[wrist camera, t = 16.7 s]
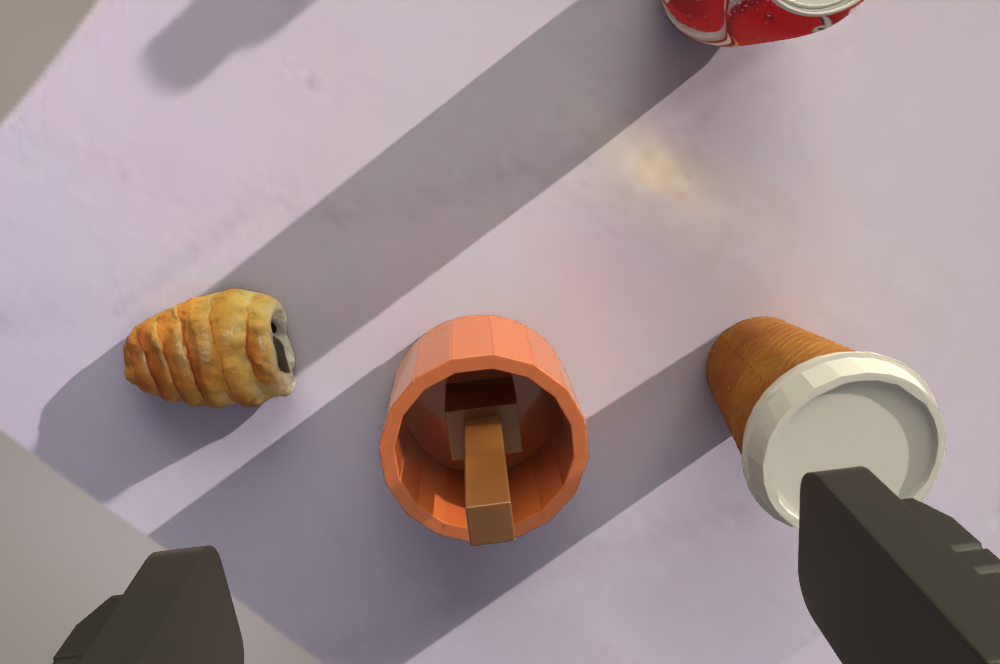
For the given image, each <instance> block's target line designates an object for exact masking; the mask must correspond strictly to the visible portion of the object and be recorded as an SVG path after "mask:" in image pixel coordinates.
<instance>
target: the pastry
mask: <svg viewBox="0 0 1000 664" xmlns="http://www.w3.org/2000/svg"><path fill="white" fill-rule="evenodd" d="M287 327H288V319H287V317H286V313H285V309H284V307H283V306H282V305H281V304H280V302H279V301H278V300H277V299H275V298H273V297H271V296H269V295H266V294H263V293H258V292H252V291H248V290H243V289H227V290H224V291H221V292H217V293H213V294H209V295H205V296H199V297H195V298H191V299H189V300H187V301H185V302H183V303H180V304H178V305H176V306H174V307H173V308H170V309H167V310H166V311H164V312H161V313H158V314H156V315H154V316H152V317H151V318H149V319H147V320H146V321H144V322H143V323H141V324H139V325H137V326H135V327H134V329H133V330H132V332H131V333H130V335H129V336H128V338H127V341H126V343H125V345H124V361H125V376H126V379H127V380H128V381H129V382H131V383H132V384H135V385H137V386H138V387H139V388H140V389H141V390H142V391H144V392H146V393H150V394H154V395H157V396H160V397H162V398H163V400H166V401H170V402H177V401H184V402H185V403H187V404H189V405H191V406H199V405H209V406H211V407H213V408H222V407H224V406H228V405H230V404H238V403H240V404H241V405H243V406H245V407H254V406H258V405H260V404H261V403H263V402H265V401H267V400H269V399H271V398H274V397H278V396H288V395H289V394H291V393H292V391H293V389H294V387H295V385H296V382H295V379H294V376H293V375H294V367H295V357H294V352H293V350H292V348H291V344H290V341H289V339H288V337H287V334H286V330H287Z"/></svg>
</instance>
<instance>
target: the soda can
mask: <svg viewBox="0 0 1000 664" xmlns="http://www.w3.org/2000/svg"><path fill="white" fill-rule="evenodd" d="M661 1H662V4H663V6H664V9H665V11H666V13H667V15H668V16H669V18H670V20H671V21H672V22H673V24H674V25H675V26H676V27H677V28H678V29H679V30H680V31H681V32H682V33H684V34H685V35H686V36H688V37H690V38H692V39H693V40H696V41H699V42H701V43H705V44H711V45H717V46H722V47H733V46H744V45H752V44H759V43H766V42H772V41H778V40H784V39H790V38H796V37H800V36H804V35H808V34H812V33H815V32H818V31H821V30H824V29H826V28H828V27H830V26H832V25H834V24H836V23H837V22H839V21H840V20H842V19H843V18H845V17H846V16H847V15H849V14H850V13H852V12H853V11H854V10H855V9H856V8H857V7H858V6H859V5H860V4H861V3H862V2H863V1H864V0H661Z"/></svg>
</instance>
